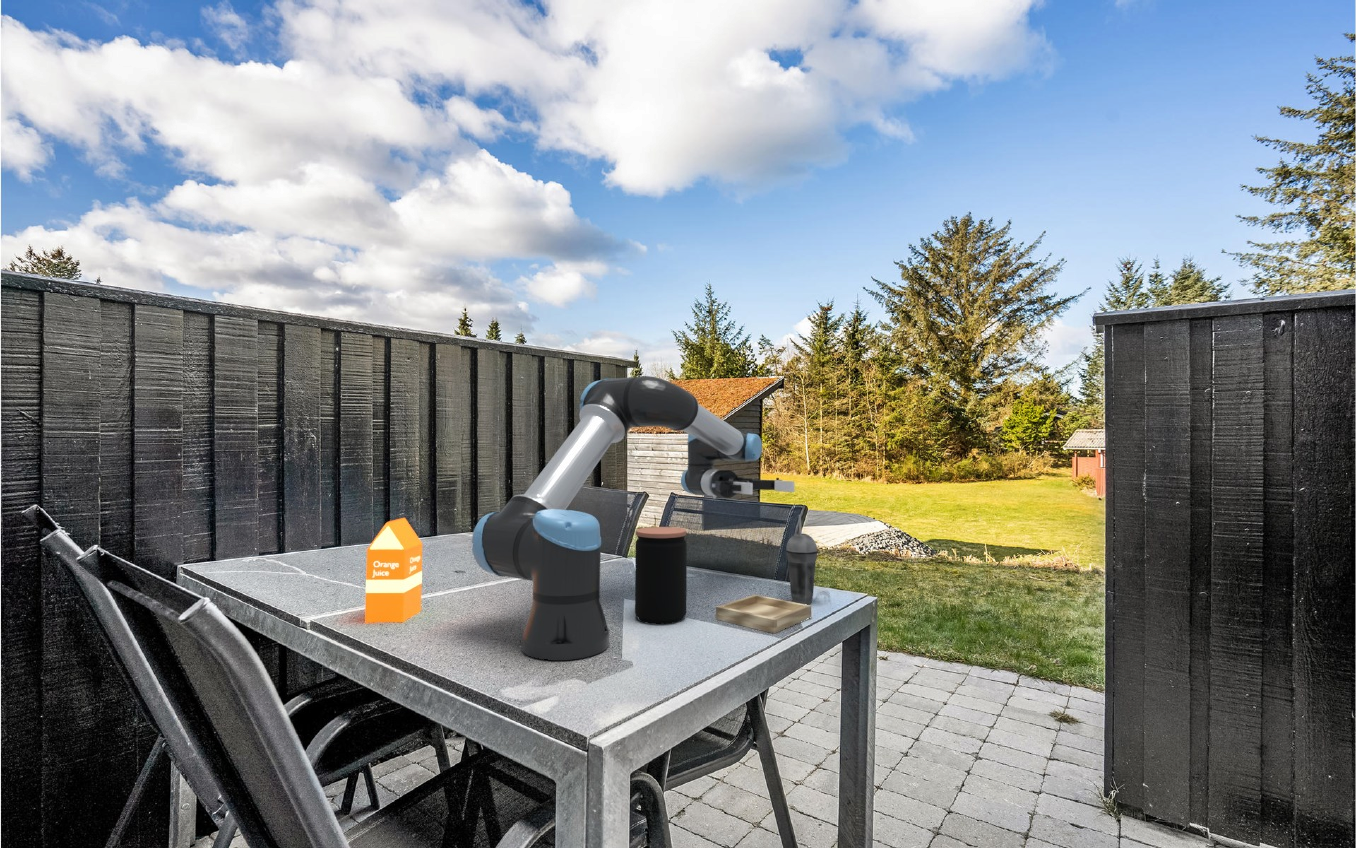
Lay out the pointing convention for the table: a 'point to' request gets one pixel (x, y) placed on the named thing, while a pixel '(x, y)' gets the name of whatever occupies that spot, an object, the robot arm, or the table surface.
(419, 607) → the orange juice
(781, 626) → the tray
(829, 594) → the table surface
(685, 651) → the table surface
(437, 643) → the table surface
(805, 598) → the beverage cup
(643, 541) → the coffee jar
